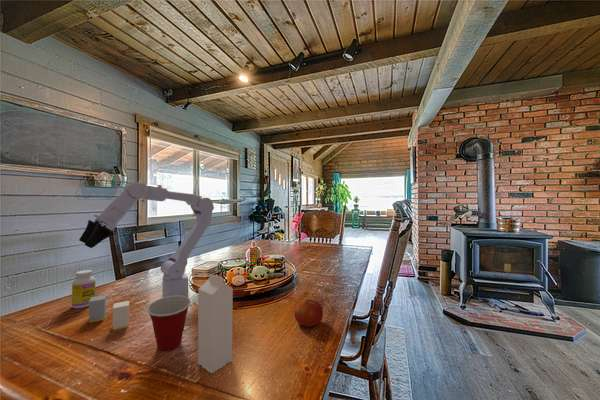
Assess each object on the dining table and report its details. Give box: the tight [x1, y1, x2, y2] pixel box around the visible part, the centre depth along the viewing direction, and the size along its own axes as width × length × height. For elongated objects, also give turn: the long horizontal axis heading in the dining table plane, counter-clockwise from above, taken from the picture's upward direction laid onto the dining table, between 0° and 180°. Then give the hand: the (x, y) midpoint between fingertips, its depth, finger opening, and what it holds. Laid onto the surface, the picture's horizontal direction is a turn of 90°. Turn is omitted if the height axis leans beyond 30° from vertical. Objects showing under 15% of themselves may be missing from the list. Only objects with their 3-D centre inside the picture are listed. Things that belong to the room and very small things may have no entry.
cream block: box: [112, 300, 130, 331], centre depth 78 cm, size 4×4×7 cm
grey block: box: [88, 294, 107, 323], centre depth 82 cm, size 4×4×7 cm
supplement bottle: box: [71, 269, 96, 309], centre depth 92 cm, size 7×7×13 cm
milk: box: [197, 273, 234, 375], centre depth 61 cm, size 6×6×22 cm
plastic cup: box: [146, 295, 192, 352], centre depth 68 cm, size 11×11×12 cm
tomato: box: [293, 298, 324, 327], centre depth 80 cm, size 9×9×8 cm
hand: (85, 244), depth 79 cm, fingers open, 7 cm apart
